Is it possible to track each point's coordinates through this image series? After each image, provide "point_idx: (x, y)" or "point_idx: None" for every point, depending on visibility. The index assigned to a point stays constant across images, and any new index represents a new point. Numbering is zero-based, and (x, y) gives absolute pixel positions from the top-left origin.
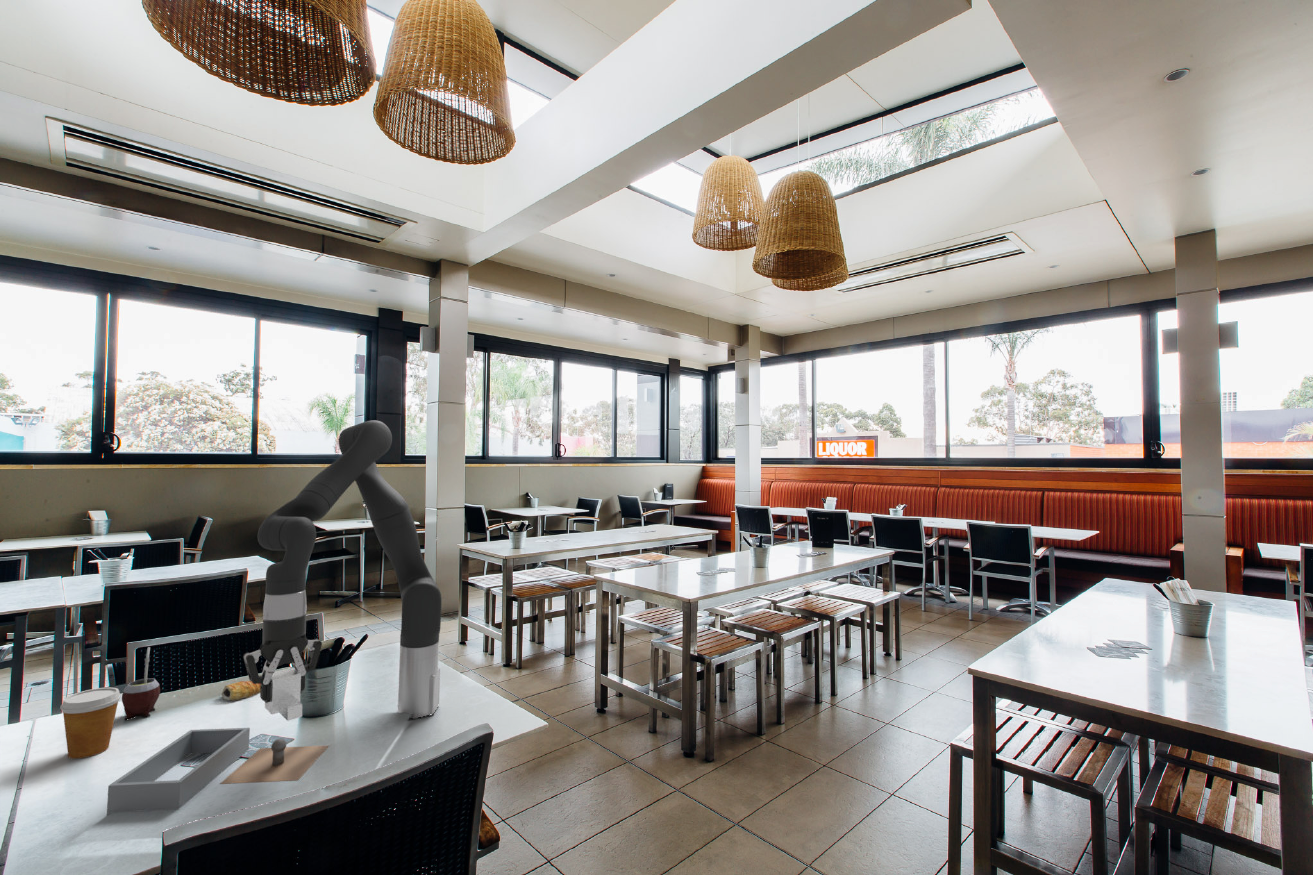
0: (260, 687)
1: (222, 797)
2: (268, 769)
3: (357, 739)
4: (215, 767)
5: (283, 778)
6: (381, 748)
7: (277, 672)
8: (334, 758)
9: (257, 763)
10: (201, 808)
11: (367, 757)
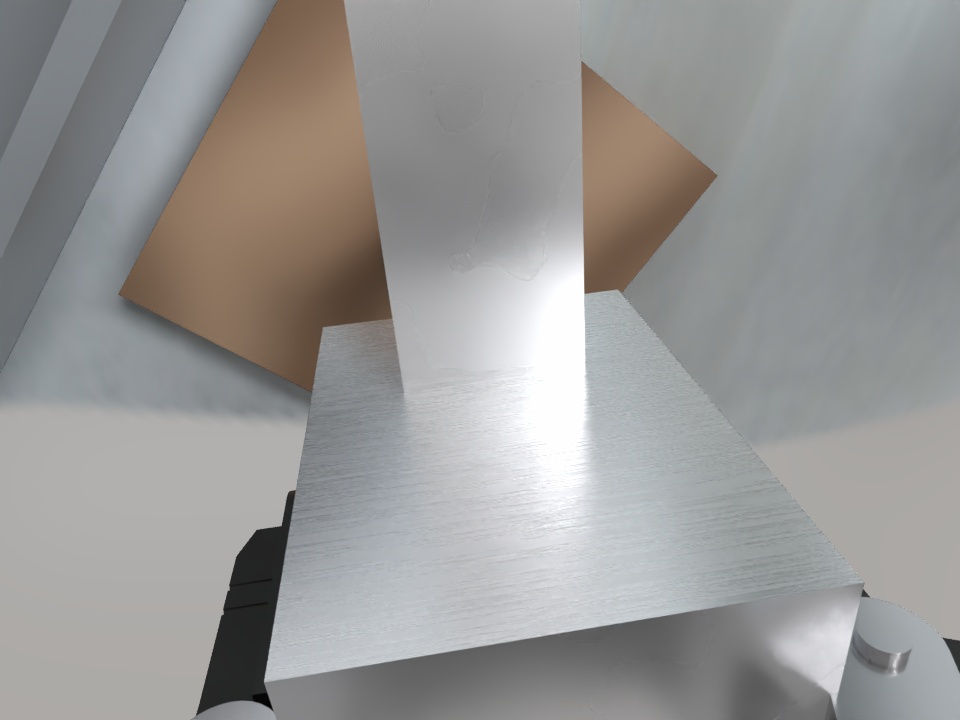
0: (209, 670)
1: (154, 345)
2: (368, 279)
3: (884, 88)
4: (50, 215)
5: None
6: (892, 296)
7: (504, 715)
8: (689, 260)
9: (317, 153)
10: (69, 396)
11: (799, 349)
